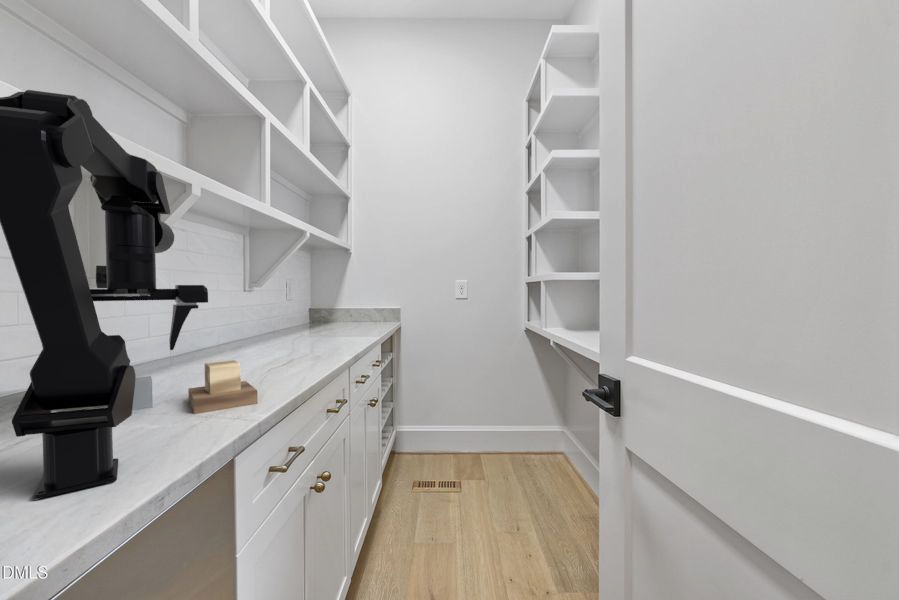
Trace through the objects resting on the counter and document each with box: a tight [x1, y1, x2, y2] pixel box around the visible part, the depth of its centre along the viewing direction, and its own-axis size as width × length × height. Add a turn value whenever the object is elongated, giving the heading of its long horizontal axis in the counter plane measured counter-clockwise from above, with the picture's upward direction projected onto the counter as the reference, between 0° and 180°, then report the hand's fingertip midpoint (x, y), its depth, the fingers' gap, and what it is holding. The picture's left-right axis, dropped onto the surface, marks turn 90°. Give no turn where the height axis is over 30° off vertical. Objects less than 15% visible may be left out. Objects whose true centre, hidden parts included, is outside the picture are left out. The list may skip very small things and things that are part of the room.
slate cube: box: [132, 375, 154, 412], centre depth 73 cm, size 5×5×5 cm
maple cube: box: [204, 359, 242, 395], centre depth 75 cm, size 5×5×5 cm
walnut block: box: [187, 380, 258, 415], centre depth 76 cm, size 10×10×3 cm
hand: (133, 352), depth 59 cm, fingers open, 9 cm apart
